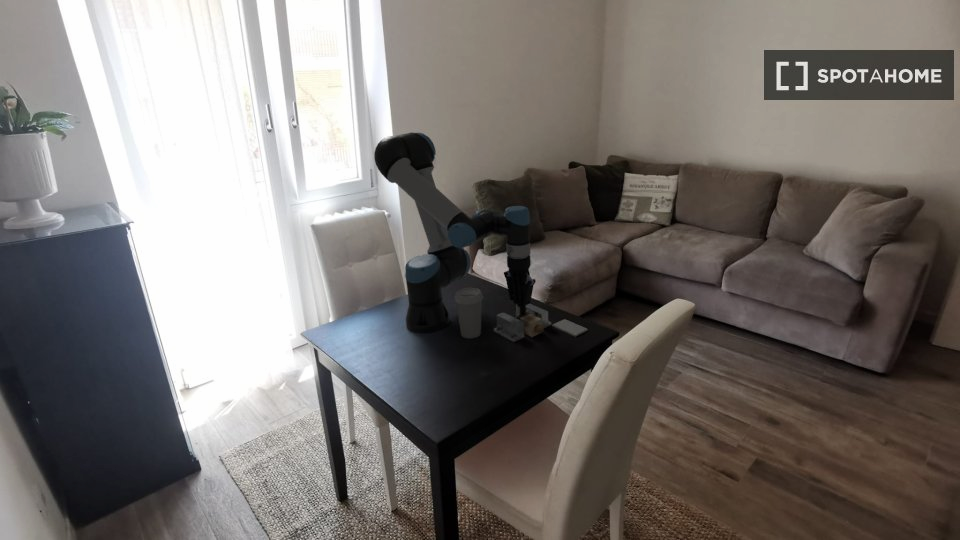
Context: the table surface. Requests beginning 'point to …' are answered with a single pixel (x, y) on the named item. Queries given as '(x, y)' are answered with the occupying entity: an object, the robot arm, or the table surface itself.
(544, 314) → the dark grey boxy pieces
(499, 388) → the table surface
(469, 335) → the coffee cup
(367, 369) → the table surface
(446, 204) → the robot arm
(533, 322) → the tan piece
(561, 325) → the mat
